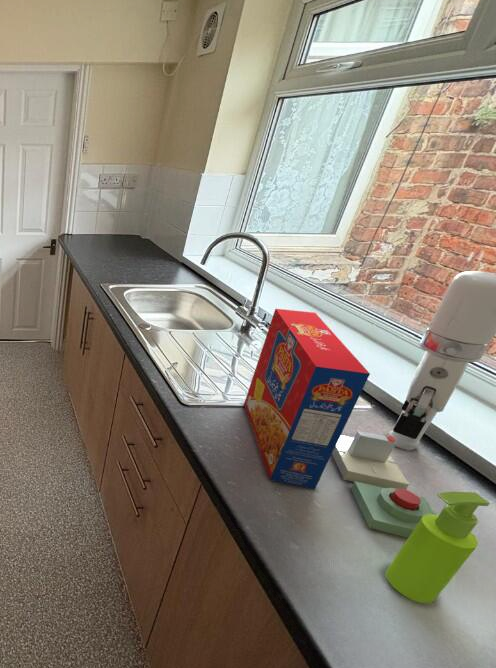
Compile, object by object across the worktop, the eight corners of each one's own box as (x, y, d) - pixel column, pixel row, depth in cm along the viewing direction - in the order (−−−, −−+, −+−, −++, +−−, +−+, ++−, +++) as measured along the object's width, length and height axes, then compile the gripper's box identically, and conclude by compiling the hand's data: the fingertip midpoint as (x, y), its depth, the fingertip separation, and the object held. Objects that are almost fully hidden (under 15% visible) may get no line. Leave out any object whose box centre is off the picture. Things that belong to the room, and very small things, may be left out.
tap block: (324, 440, 98) (328, 431, 97) (378, 451, 94) (383, 442, 93) (342, 479, 87) (347, 470, 86) (404, 493, 84) (410, 484, 82)
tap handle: (350, 455, 90) (361, 434, 87) (347, 450, 91) (358, 429, 89) (385, 462, 88) (397, 441, 85) (381, 457, 89) (393, 436, 87)
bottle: (419, 445, 96) (475, 350, 85) (412, 454, 94) (469, 358, 82) (390, 433, 100) (440, 341, 89) (383, 441, 97) (434, 348, 86)
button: (411, 498, 78) (415, 491, 77) (420, 513, 75) (424, 506, 74) (387, 492, 79) (391, 486, 79) (395, 507, 76) (399, 500, 76)
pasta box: (243, 404, 111) (275, 308, 98) (278, 410, 108) (315, 312, 96) (269, 479, 87) (315, 366, 75) (314, 489, 85) (370, 373, 72)
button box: (419, 505, 81) (429, 490, 79) (446, 548, 73) (458, 532, 71) (350, 488, 85) (358, 474, 83) (368, 527, 77) (377, 512, 75)
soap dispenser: (369, 567, 70) (425, 480, 61) (411, 568, 70) (473, 481, 61) (399, 603, 65) (465, 513, 56) (445, 604, 64) (518, 514, 55)
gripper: (482, 370, 64) (429, 455, 71) (486, 335, 74) (440, 413, 81) (415, 352, 69) (373, 433, 76) (428, 322, 79) (390, 397, 86)
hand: (408, 423), depth 79 cm, fingers open, 9 cm apart
